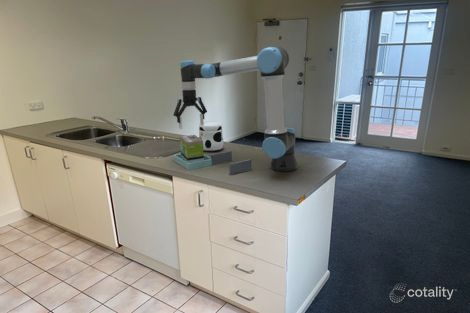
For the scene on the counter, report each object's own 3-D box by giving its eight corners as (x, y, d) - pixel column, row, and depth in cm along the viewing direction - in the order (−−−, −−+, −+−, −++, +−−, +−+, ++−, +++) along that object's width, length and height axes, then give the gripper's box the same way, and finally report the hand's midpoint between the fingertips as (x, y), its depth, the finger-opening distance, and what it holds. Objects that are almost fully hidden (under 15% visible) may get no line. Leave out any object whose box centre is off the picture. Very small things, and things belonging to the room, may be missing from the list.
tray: (213, 164, 189) (213, 158, 188) (188, 170, 180) (188, 164, 179) (196, 156, 206) (196, 150, 204) (173, 160, 197) (173, 155, 196)
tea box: (180, 159, 197) (179, 136, 193) (196, 157, 201) (195, 134, 197) (187, 166, 184) (186, 141, 180) (204, 164, 188) (203, 139, 184)
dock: (251, 169, 180) (251, 159, 178) (230, 175, 172) (230, 164, 171) (230, 160, 197) (230, 150, 195) (210, 164, 189) (210, 154, 187)
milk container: (193, 149, 221) (192, 123, 216) (214, 144, 231) (214, 120, 226) (207, 154, 208) (206, 127, 202) (229, 150, 218) (228, 124, 212)
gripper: (205, 87, 190) (207, 122, 196) (165, 90, 176) (168, 128, 183) (211, 88, 184) (213, 124, 190) (170, 91, 170) (174, 130, 177)
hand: (191, 126), depth 186 cm, fingers open, 13 cm apart
